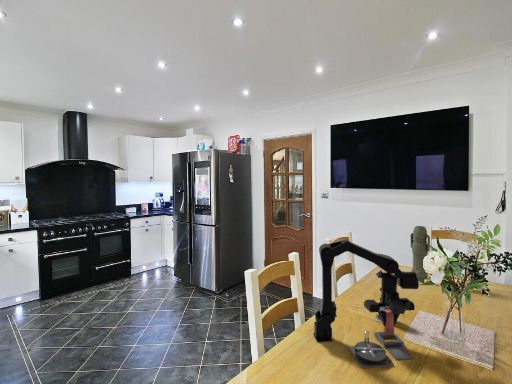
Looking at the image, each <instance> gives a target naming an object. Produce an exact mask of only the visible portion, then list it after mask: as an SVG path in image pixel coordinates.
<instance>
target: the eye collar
mask: <svg viewBox="0 0 512 384" xmlns="http://www.w3.org/2000/svg"><path fill="white" fill-rule="evenodd" d="M373 334H374V338H375V339H376V341H377V342H378V343H379V345H380V346H381V347H383V348H384V349H386V348H390V347H404V346H405V345H404V341H403V340H402V339H401V338H400V337H399V336H398V334H396V333H395V332H394V335H387V334H385V333H384V331H375V332H374V333H373ZM384 338H391V339H393V340H391V341H390V340H389V341H385V339H384ZM404 348H405V347H404Z"/></svg>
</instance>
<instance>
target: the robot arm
mask: <svg viewBox="0 0 512 384" xmlns="http://www.w3.org/2000/svg"><path fill="white" fill-rule="evenodd" d="M318 252H319V257H320V261H321V268H322V269H321V282H322V284H321V287H322V288H321V289H322V292H321V293H322V296H321V297H322V298H321V301H320V306H319V309H318V310H317V311H316V312H315V313H314V318H315V321H313V322H314V323H313V324H314V325H313V326H314V328H313V333H312V334H313V336H314V339H315V341H316V342H317V343H325V342H326V343H327V342H333V339H332V337H333V328H332V324H333V323H334V322H335V321H336V318H337V317H338V316H337V309H338V307H337V304H336V301H335V300H334V301H333V289H332V288H333V287H332V286H333V283H332V282H333V281H332V279H333V277H332V276H333V275H332V274H333V273H332V269H333V265H334V261H335V258H336V257H339V256H341V255H343V254H344V253H346V252H349V253H351V254H353V255H355V256H357V257H360V258H362V259H364V260H366V261H368V262H371V263H373V264H374V265H376V266H377V267H379V268H380V269H381V270H379V271H378V272H377V273H375V275H376V277H378V279H381V282H380V283H381V287H379V291H380V292H381V293H380V297H379V302H377V301H376V300H375V299H365V300H364V302H363V307H364V308H365V309H366V310H367V311H369V312H370V313H377V314H379V316H380V318H381V321H382V322H381V324H382V325H383V327H384V326H385V325H386V317H385V315H386V313H387V312H386V311H385V307H389V308H390V309H391V311H392V313H393V314H394V326H395V325H396V323H397V321H398V319H399V317H400V315H405V313H406V311H415V309H416V306H415V303H414V302H413V301H412V300H410V299H409V298H407V297H401V298H400V293H399V292H398V286H399V287H400V289H403V290H418V289H419V287H420V282H418V279H417V276H416V273H415V272H413V271H412V270H411V271H403V270H401V269H400V265H399V262H398V261H397V260H395V259H394V258H393V257H391V256H390V255H387V254H382V253H377V252H374V251H371V250H369V249H368V248H365V247H364V246H363V247H362V246H361V245H359V244H356V243H354V242H352V241H350V240H348V239H343V240H340V241H334V242H330V243H323V244H321V245H319V248H318ZM382 270H383V271H384V272H383V271H382ZM380 301H381V302H380Z"/></svg>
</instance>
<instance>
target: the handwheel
mask: <svg viewBox="0 0 512 384" xmlns="http://www.w3.org/2000/svg"><path fill="white" fill-rule="evenodd" d="M363 333H364V335H363V337H364V338H363V339H364V341H359V342H357V343H355V345H354V346H355V353H356V354H357V355H358V356H359V357H361V358H362V359H364V360H367V361H371V362H380V361H383V360H384V359H385V358H386V355H387V352H386V348H384V347H383V346H382V345H381V344H378V343H375V342H371V341H370V331H368V330H364V332H363Z"/></svg>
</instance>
